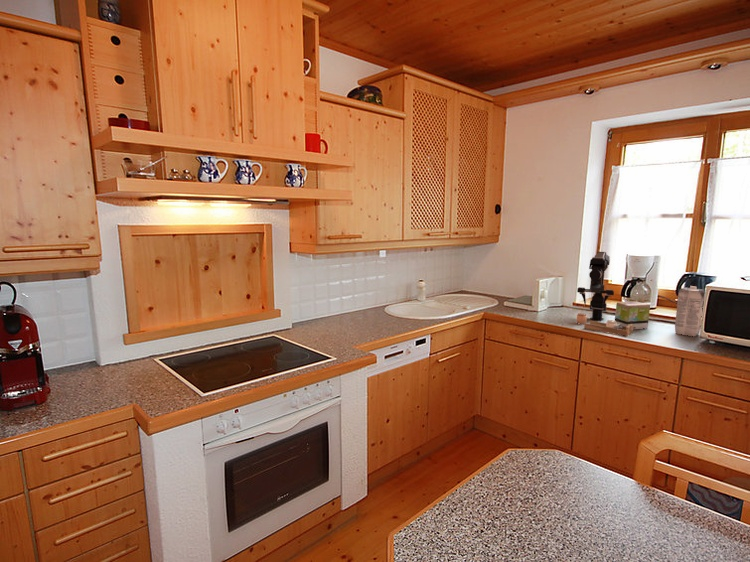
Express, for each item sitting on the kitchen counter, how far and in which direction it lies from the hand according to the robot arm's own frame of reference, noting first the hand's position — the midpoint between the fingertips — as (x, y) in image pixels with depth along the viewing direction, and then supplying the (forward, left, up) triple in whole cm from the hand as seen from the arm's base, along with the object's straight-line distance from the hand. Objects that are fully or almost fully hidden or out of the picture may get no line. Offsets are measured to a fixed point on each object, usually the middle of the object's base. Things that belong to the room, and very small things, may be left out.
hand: (593, 305), depth 244 cm
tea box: (-17, +16, -14) cm, 27 cm away
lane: (0, +8, -13) cm, 16 cm away
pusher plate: (0, +14, -13) cm, 19 cm away
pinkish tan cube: (-6, -8, -13) cm, 17 cm away
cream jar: (0, +10, -13) cm, 17 cm away
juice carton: (-23, +42, -14) cm, 50 cm away
